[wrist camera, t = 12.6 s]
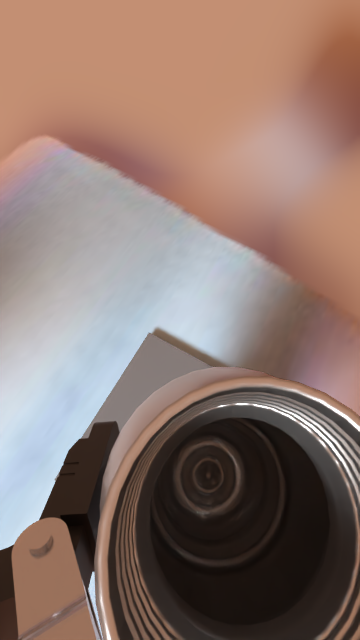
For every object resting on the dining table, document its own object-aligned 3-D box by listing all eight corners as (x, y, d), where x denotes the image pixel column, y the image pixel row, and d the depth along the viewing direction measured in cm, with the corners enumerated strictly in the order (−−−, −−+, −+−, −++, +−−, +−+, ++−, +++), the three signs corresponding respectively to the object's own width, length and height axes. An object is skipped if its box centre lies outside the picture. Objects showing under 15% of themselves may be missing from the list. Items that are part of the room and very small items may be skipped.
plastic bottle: (139, 497, 22) (-201, 707, 3) (190, 403, 24) (162, 206, 5) (229, 558, 20) (562, 1605, 2) (275, 452, 22) (648, 415, 4)
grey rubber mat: (59, 479, 23) (54, 479, 23) (150, 336, 27) (149, 332, 26) (307, 660, 19) (311, 668, 18) (379, 459, 22) (385, 460, 22)
